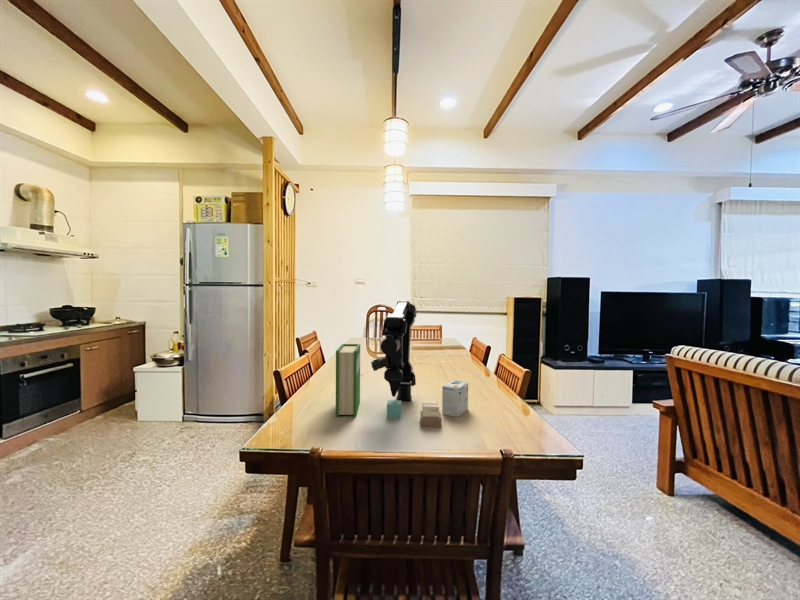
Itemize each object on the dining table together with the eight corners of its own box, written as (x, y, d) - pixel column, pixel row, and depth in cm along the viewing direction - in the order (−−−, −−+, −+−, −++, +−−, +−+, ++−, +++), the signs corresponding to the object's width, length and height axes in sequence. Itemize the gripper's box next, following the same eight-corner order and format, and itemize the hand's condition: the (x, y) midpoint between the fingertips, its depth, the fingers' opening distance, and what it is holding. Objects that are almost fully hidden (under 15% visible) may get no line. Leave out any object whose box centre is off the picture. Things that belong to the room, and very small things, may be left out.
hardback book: (356, 417, 130) (356, 351, 130) (335, 417, 130) (335, 350, 130) (359, 402, 148) (360, 344, 147) (341, 402, 148) (342, 344, 147)
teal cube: (387, 413, 135) (388, 400, 135) (401, 413, 135) (401, 400, 134) (386, 418, 130) (386, 404, 130) (400, 418, 130) (400, 404, 130)
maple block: (422, 411, 128) (422, 401, 128) (437, 411, 127) (437, 401, 127) (422, 416, 122) (422, 406, 122) (438, 416, 122) (439, 406, 122)
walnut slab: (420, 420, 128) (420, 410, 128) (440, 420, 128) (440, 411, 128) (420, 427, 121) (420, 417, 121) (441, 428, 121) (441, 418, 121)
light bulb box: (452, 406, 144) (452, 379, 143) (468, 409, 140) (469, 381, 140) (441, 414, 134) (441, 385, 134) (458, 417, 131) (458, 388, 131)
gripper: (375, 346, 141) (375, 385, 142) (369, 354, 123) (369, 400, 123) (403, 346, 141) (403, 386, 141) (402, 355, 122) (401, 400, 123)
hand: (394, 392), depth 132 cm, fingers open, 9 cm apart
